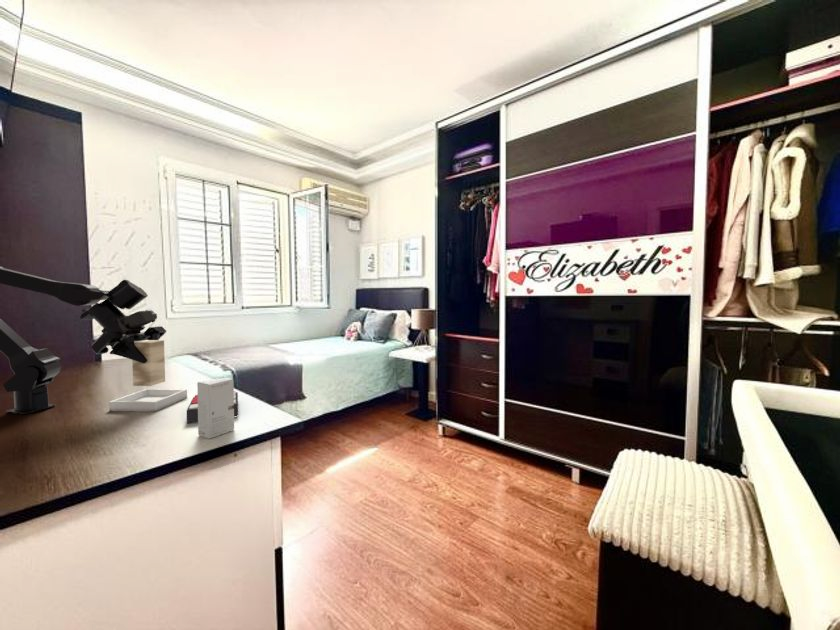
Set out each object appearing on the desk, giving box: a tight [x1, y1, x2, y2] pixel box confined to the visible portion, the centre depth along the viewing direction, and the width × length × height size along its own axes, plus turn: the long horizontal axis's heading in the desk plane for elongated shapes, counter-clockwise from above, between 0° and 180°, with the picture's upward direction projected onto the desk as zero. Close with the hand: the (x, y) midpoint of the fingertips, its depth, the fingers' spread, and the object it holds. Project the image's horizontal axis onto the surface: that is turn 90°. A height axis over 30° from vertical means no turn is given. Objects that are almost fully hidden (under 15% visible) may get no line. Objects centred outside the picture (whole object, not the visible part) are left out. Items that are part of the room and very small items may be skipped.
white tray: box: [108, 388, 188, 413], centre depth 96 cm, size 12×12×2 cm
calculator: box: [186, 390, 239, 425], centre depth 91 cm, size 11×4×15 cm
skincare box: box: [196, 376, 235, 440], centre depth 77 cm, size 6×4×12 cm
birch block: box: [131, 339, 166, 387], centre depth 95 cm, size 5×5×12 cm
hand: (153, 360), depth 95 cm, fingers closed on birch block, 5 cm apart
